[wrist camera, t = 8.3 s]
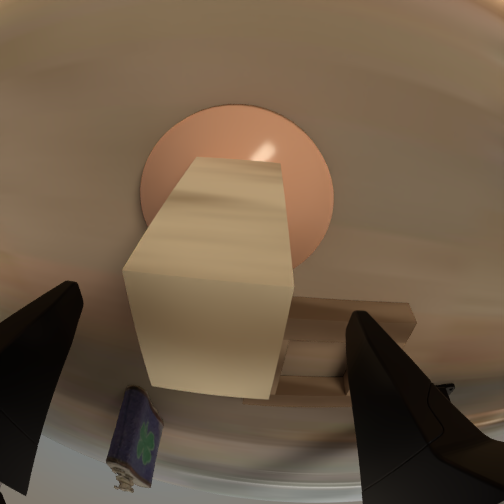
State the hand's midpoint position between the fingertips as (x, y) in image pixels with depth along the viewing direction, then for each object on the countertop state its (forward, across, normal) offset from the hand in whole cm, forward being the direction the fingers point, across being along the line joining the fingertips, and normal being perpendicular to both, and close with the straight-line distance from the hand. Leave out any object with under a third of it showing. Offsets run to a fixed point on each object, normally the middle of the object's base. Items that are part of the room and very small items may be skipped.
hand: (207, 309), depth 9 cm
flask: (+9, +9, +25) cm, 28 cm away
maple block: (+8, 0, 0) cm, 8 cm away
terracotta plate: (+9, 0, 0) cm, 9 cm away
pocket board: (+8, -7, +12) cm, 16 cm away
